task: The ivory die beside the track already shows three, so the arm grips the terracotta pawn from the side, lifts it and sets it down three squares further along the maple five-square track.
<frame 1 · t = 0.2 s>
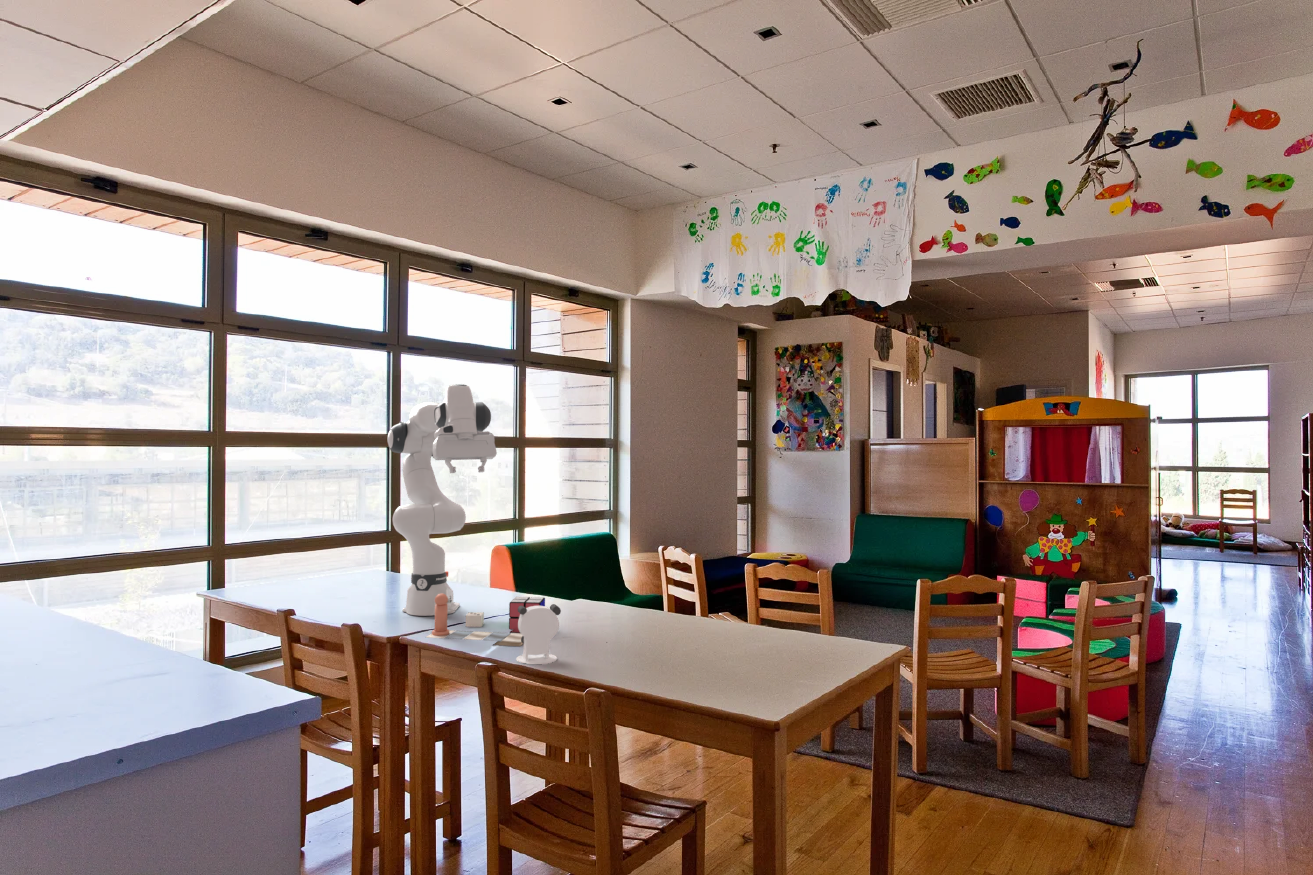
hand: (467, 472, 257), 51 cm above the table, tool tilted 20°, fingers open, 8 cm apart
panda figurine: (537, 659, 226), on the table
puzzle cube: (527, 630, 263), on the table
pawn: (440, 633, 250), point 1 cm above the table, touching track
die: (474, 629, 263), on the table
track: (478, 639, 248), on the table
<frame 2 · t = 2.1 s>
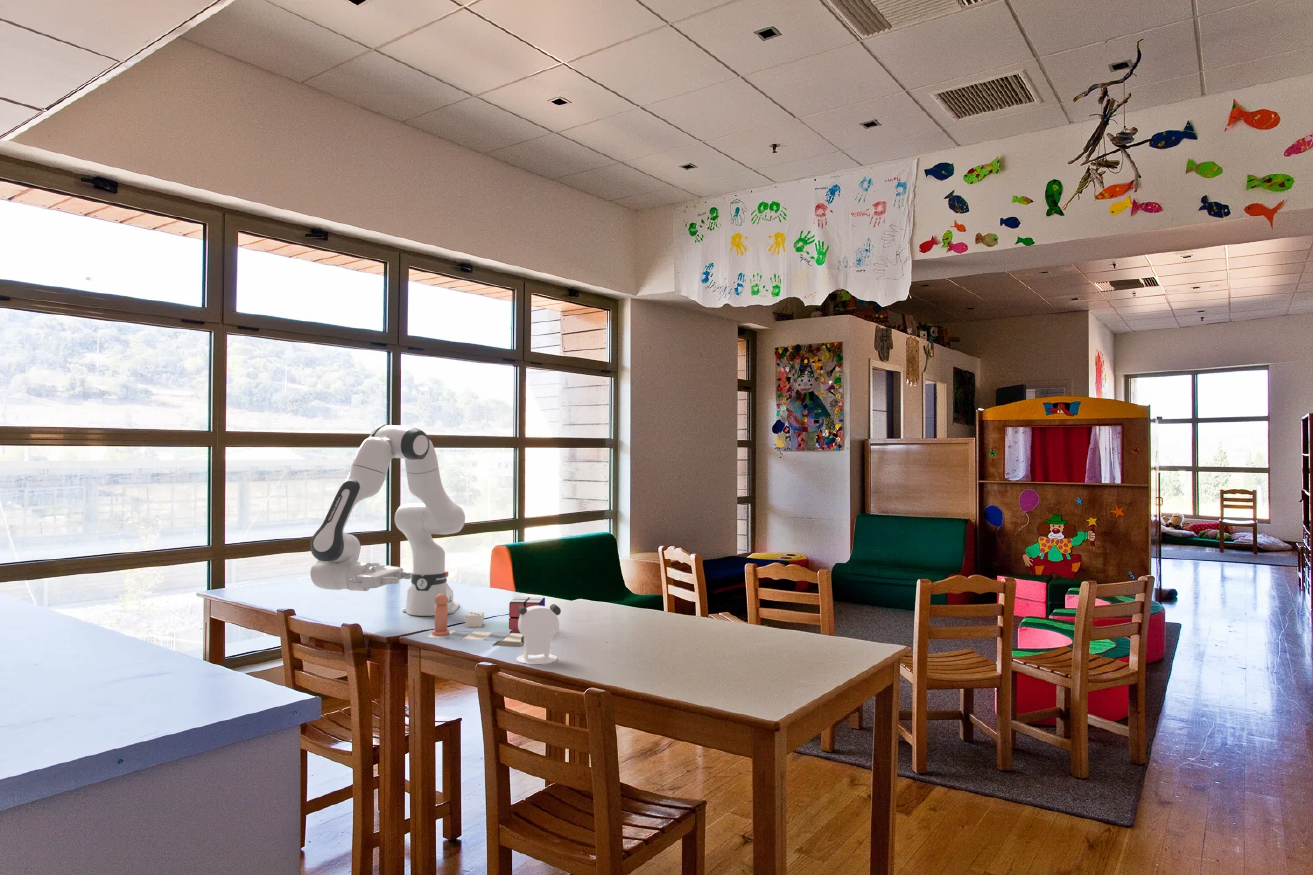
hand: (404, 578, 251), 18 cm above the table, tool horizontal, fingers open, 8 cm apart
nothing on the table moved.
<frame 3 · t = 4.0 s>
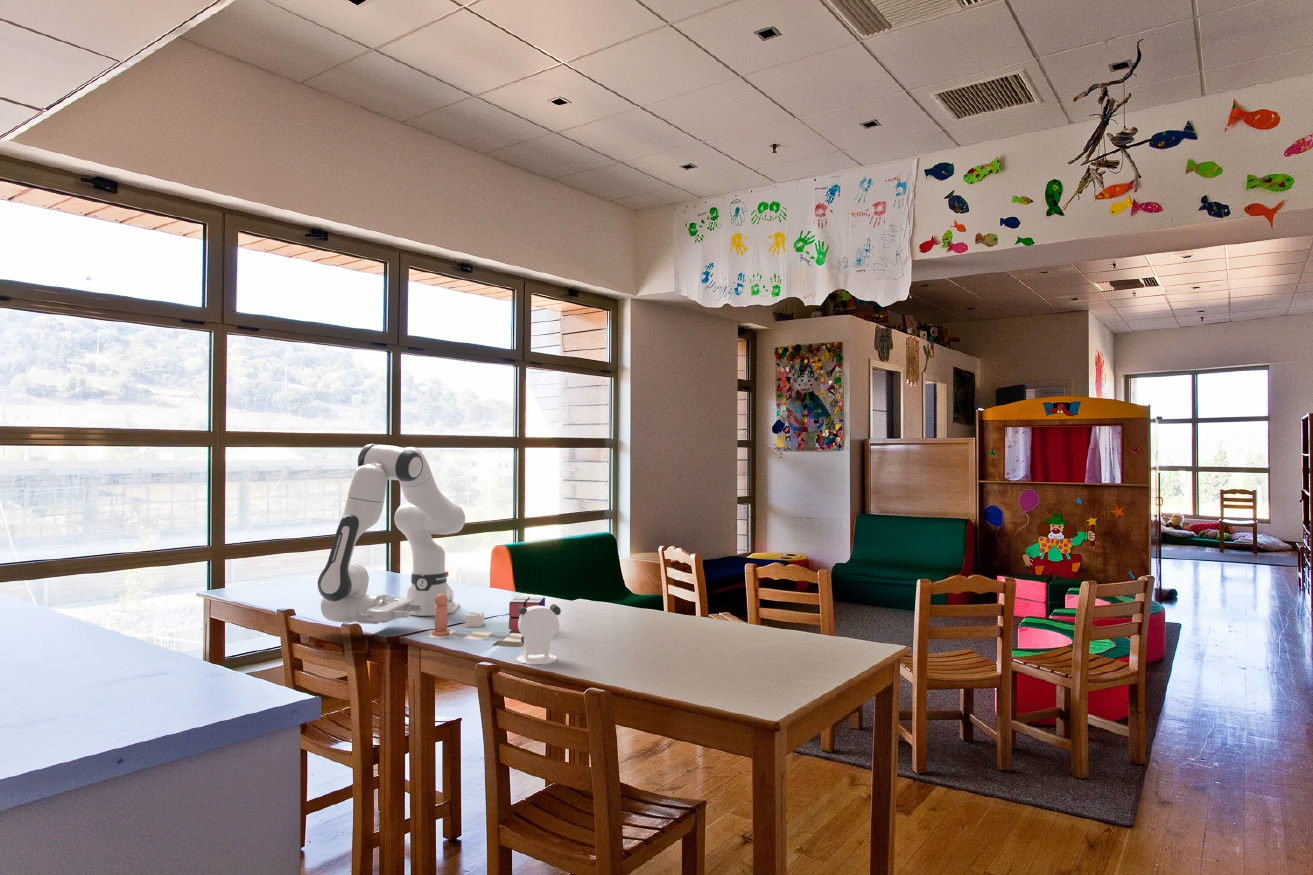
hand: (415, 611, 251), 8 cm above the table, tool horizontal, fingers open, 8 cm apart
nothing on the table moved.
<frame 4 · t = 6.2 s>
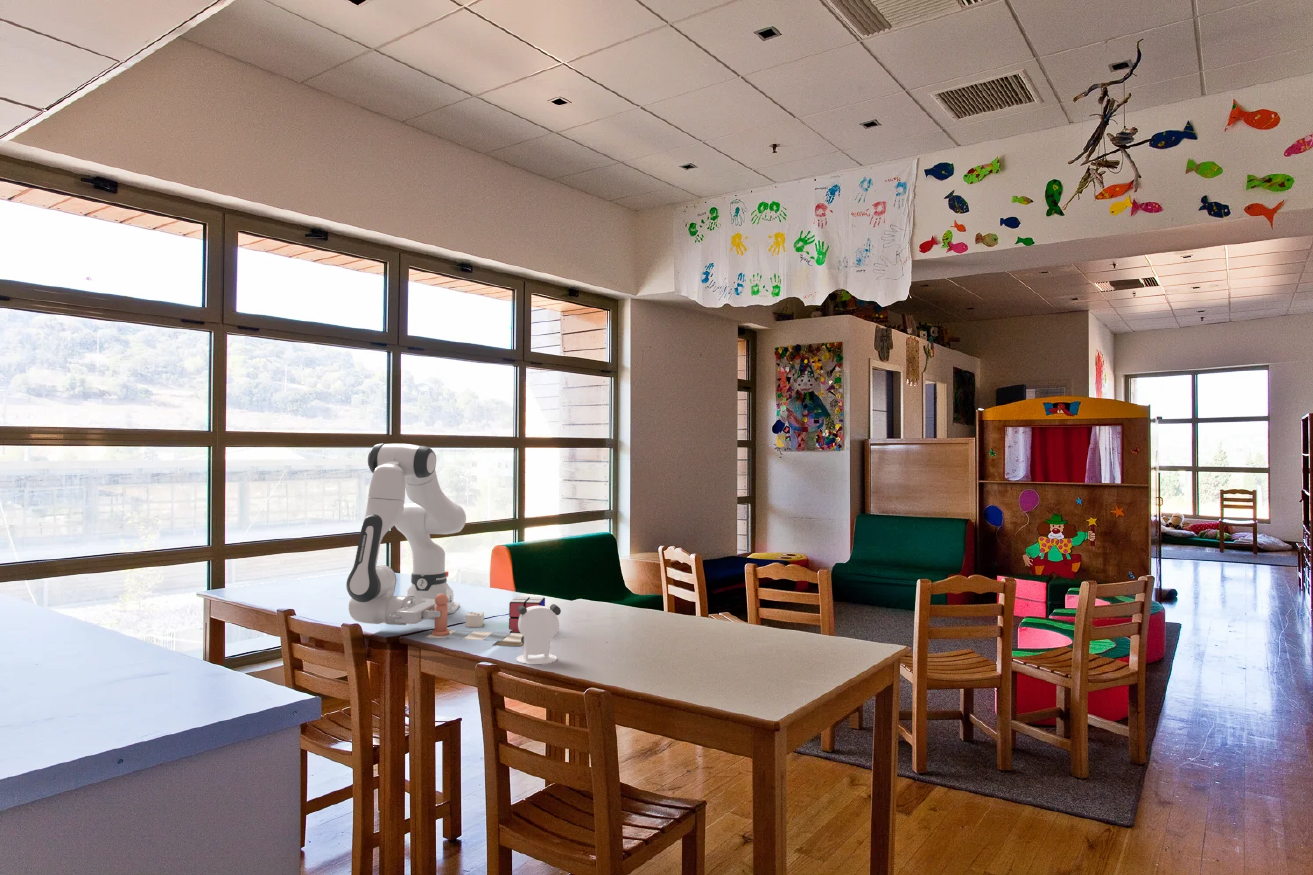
hand: (443, 612, 250), 8 cm above the table, tool horizontal, fingers closed on pawn, 4 cm apart
pawn: (440, 633, 250), point 1 cm above the table, touching gripper, track
everything else where it was.
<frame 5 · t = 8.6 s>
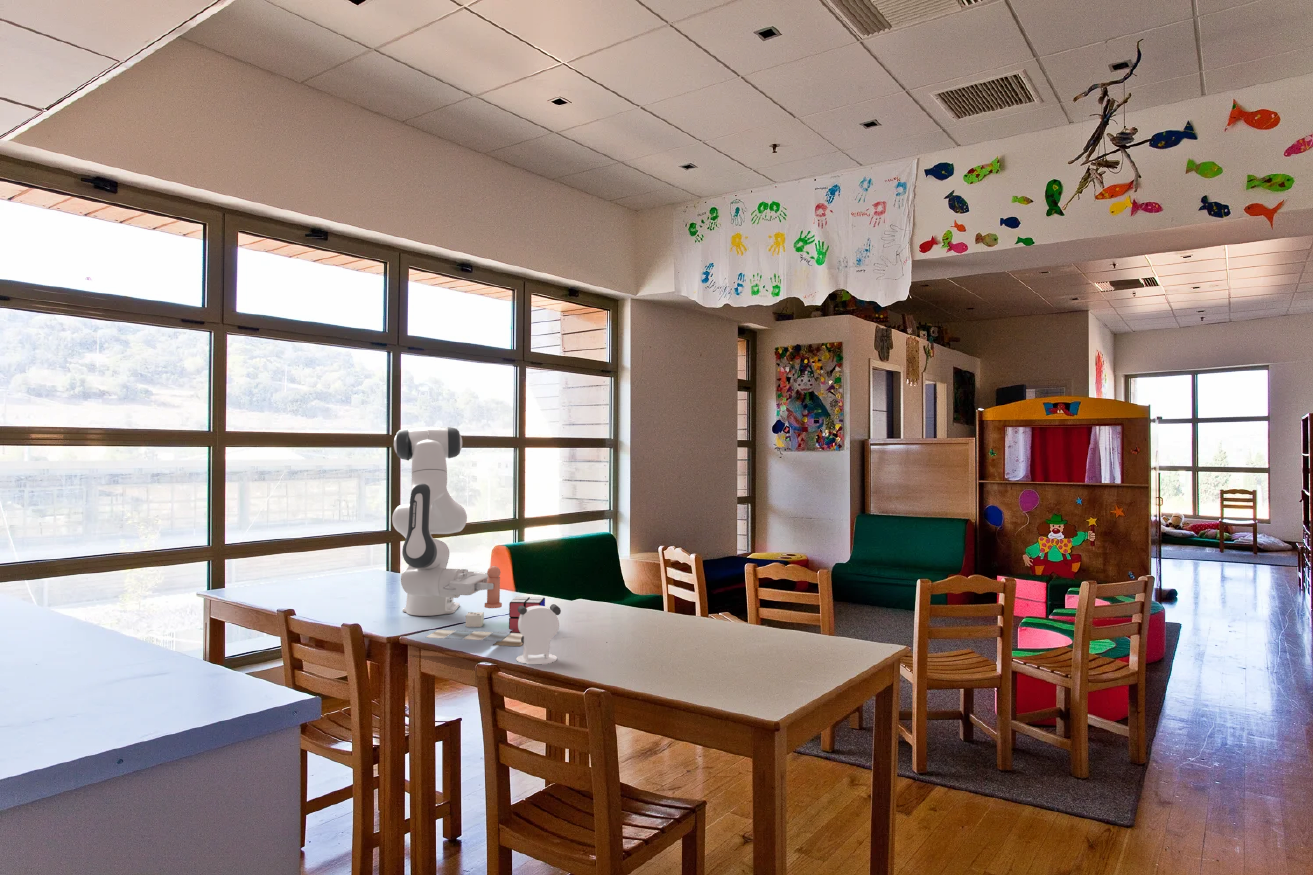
hand: (496, 584, 247), 17 cm above the table, tool horizontal, fingers closed on pawn, 4 cm apart
pawn: (493, 606, 247), point 10 cm above the table, touching gripper
everything else where it was.
when the fingers open (9 cm above the table, at t = 10.9 s): pawn drops 1 cm, resting on track.
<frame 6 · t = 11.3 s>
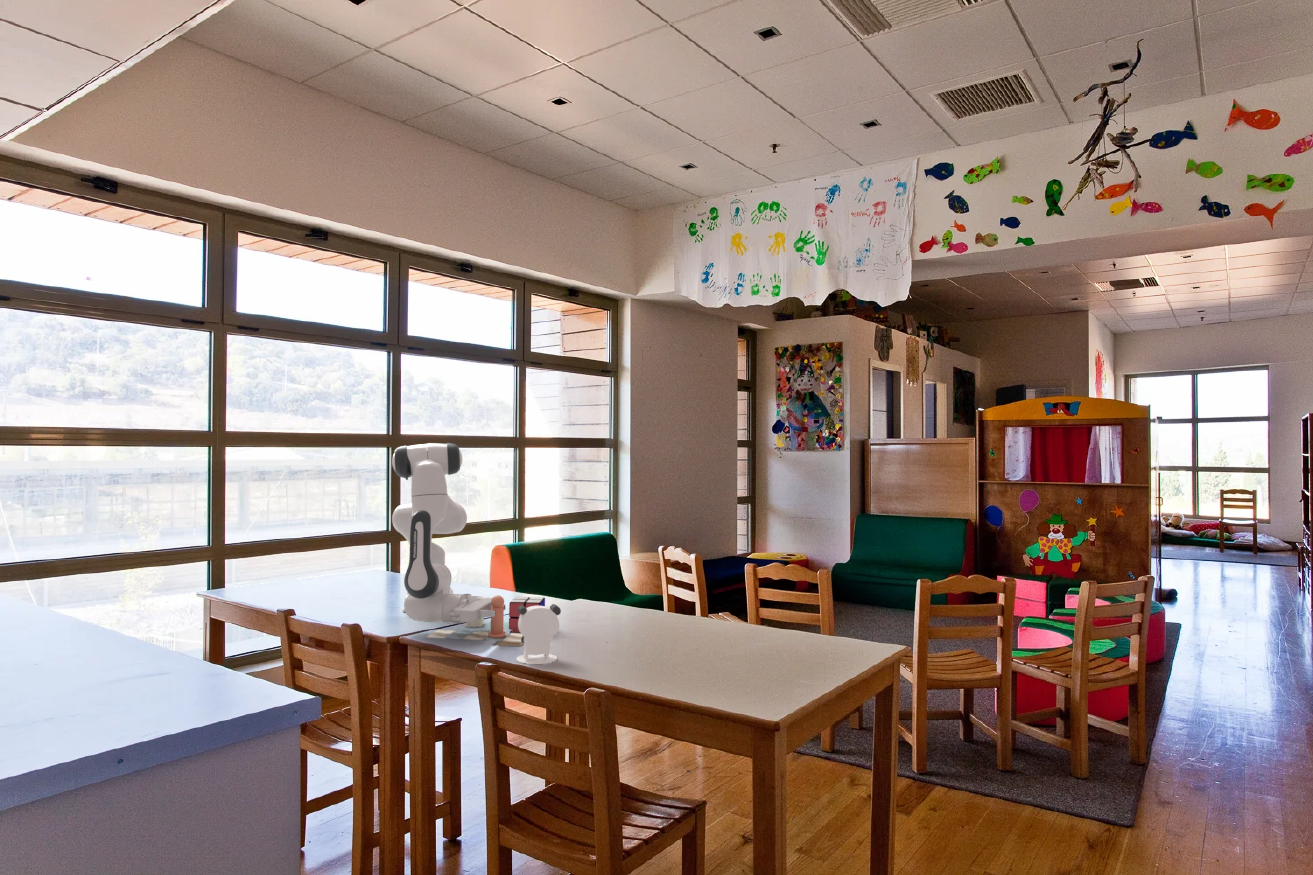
hand: (500, 610, 247), 9 cm above the table, tool horizontal, fingers open, 8 cm apart
pawn: (496, 636, 247), point 1 cm above the table, touching track
everything else where it was.
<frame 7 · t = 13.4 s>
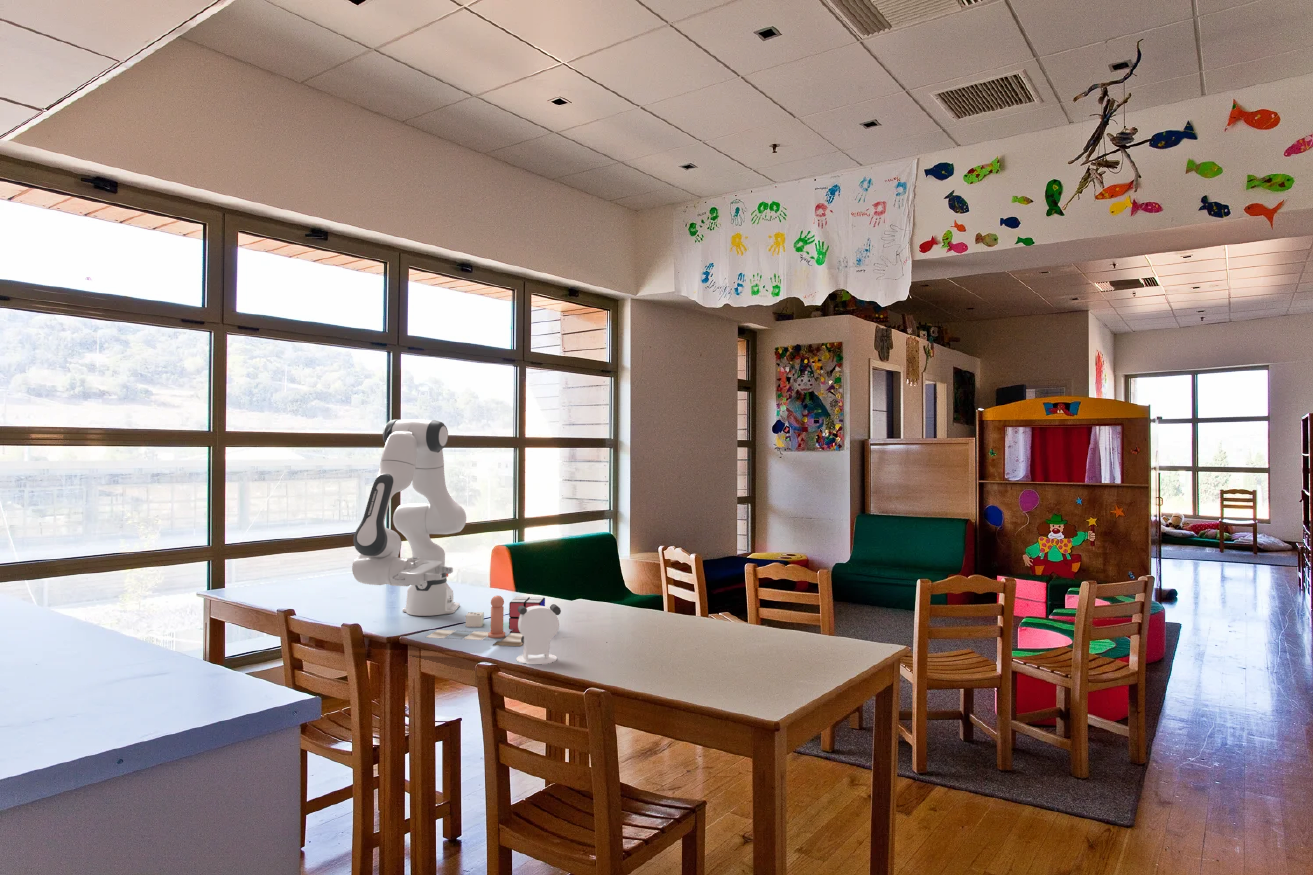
hand: (446, 573, 251), 20 cm above the table, tool horizontal, fingers open, 8 cm apart
nothing on the table moved.
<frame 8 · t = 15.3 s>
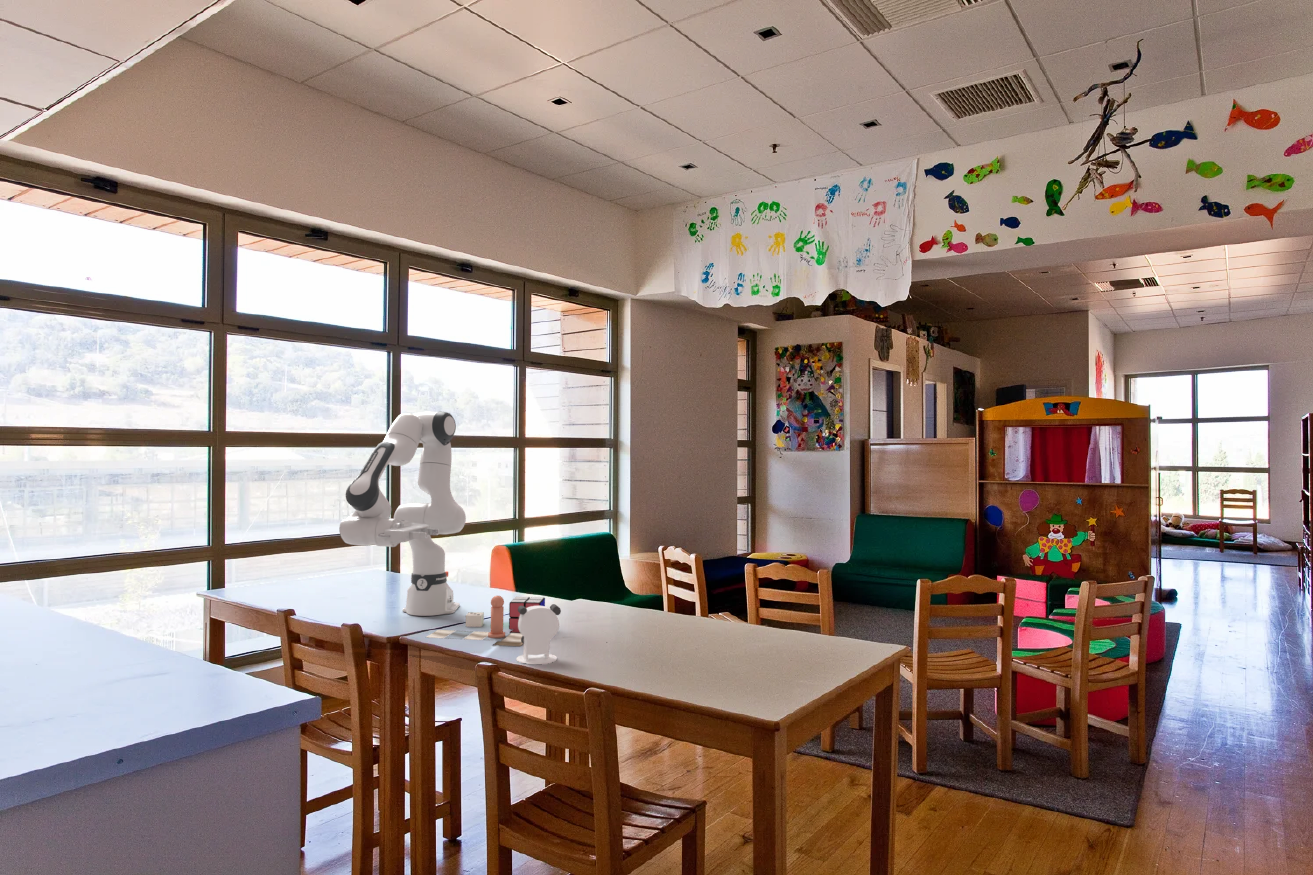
hand: (432, 533, 252), 32 cm above the table, tool horizontal, fingers open, 8 cm apart
nothing on the table moved.
at the end: pawn inside the target area (0.1 cm from its centre), point 1.3 cm above the table; pawn tilted 0°; the gripper is holding nothing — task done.
